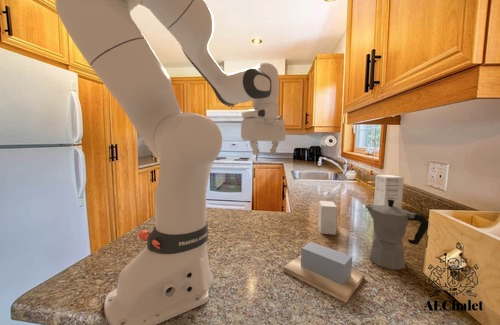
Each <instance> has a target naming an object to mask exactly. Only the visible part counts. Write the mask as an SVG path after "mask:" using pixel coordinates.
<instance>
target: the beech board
mask: <svg viewBox="0 0 500 325" xmlns="http://www.w3.org/2000/svg"><path fill="white" fill-rule="evenodd" d="M282 271H283V272H284V273H286V274H288V275H290V276H292V277H294V278H295V279H297V280H300V281H303V282H304V283H306V284H308V285H310V286H311V287H314V288H316V289H318V290H320V291H322V292H324V293H325V294H327V295H329V296H331V297H334V298H336V299H337V300H340V301H342V302H343V303H347V302H348V300H350V298H351V296H352V295H353V294H354V293H355V291H356V290H357V288H358V287H359V286H360V284H361V283H362V282H363V280H364V279H365V273H364V272H363V271H359V270H356V269H355V268H352V270H351V277H350V278H349V279H348V280H347V282H346V283H345V284H344V285H341V284H338V283H336V282H334V281H332V280H330V279H327V278H325V277H323V276H321V275H319V274H317V273H314V272H312V271H310V270H308V269H306V268H304V267H301V254H300V255H298V256H297V257H296V258H294V259H292V260H291V261H290V262H288V263H286V265H284V266H283V270H282Z"/></svg>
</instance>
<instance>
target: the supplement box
mask: <svg viewBox="0 0 500 325" xmlns="http://www.w3.org/2000/svg"><path fill="white" fill-rule="evenodd" d="M404 179H405V178H404V176H400V175H399V176H398V175H395V174H375V179H374V180H375V184H374V197H373V198H374V199H373V205H376V206H381V205H388V200H394V204H393V206H394V207H397V208H400V209H403V208H402V207H403V205H402V204H403V194H404Z"/></svg>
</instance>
